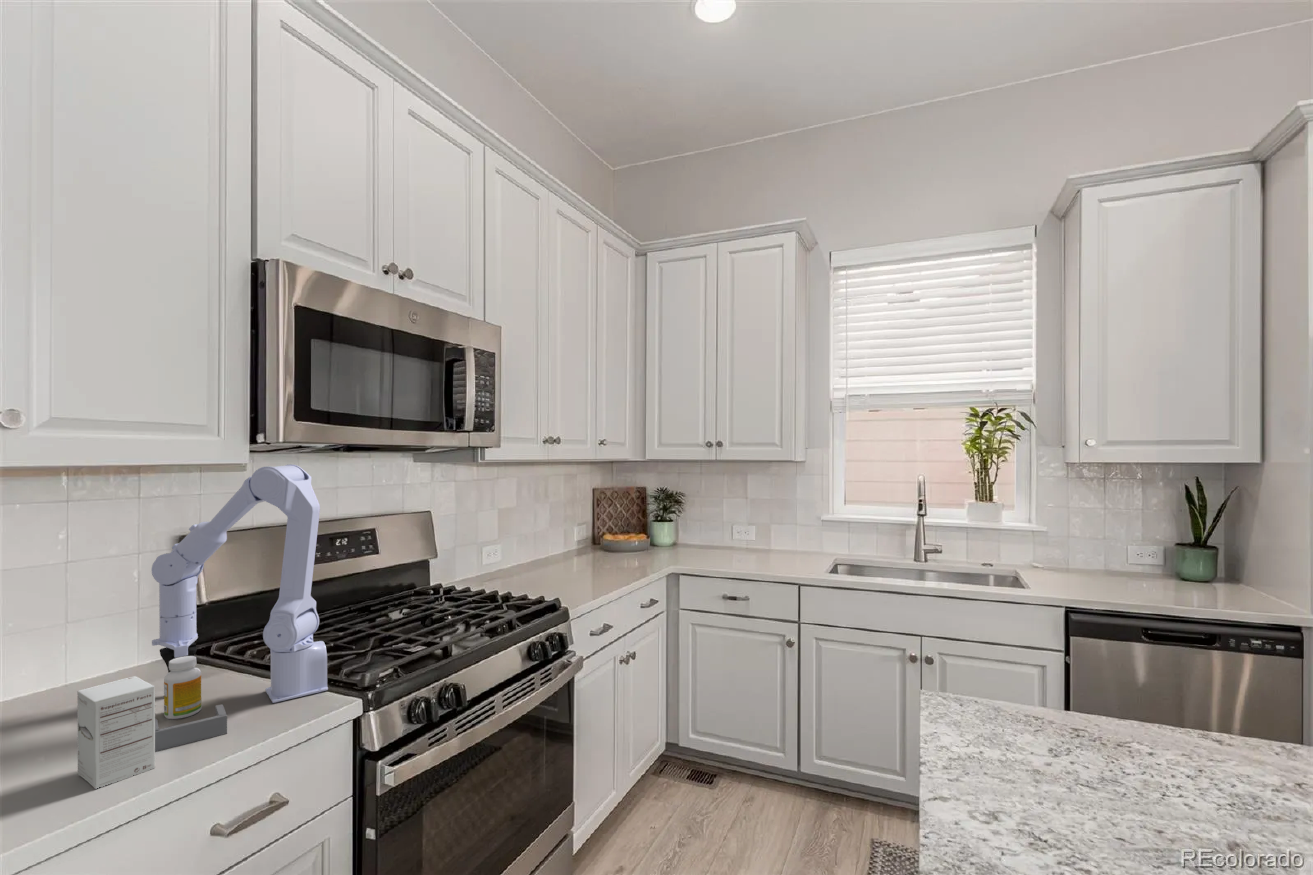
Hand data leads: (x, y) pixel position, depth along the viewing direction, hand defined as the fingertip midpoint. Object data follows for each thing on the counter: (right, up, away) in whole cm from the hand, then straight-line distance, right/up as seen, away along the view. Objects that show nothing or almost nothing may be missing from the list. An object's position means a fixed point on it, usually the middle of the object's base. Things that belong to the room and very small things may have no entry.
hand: (178, 684), depth 124 cm
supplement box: (+12, -2, -29) cm, 31 cm away
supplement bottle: (+7, -2, -8) cm, 11 cm away
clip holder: (+14, -2, -17) cm, 23 cm away
